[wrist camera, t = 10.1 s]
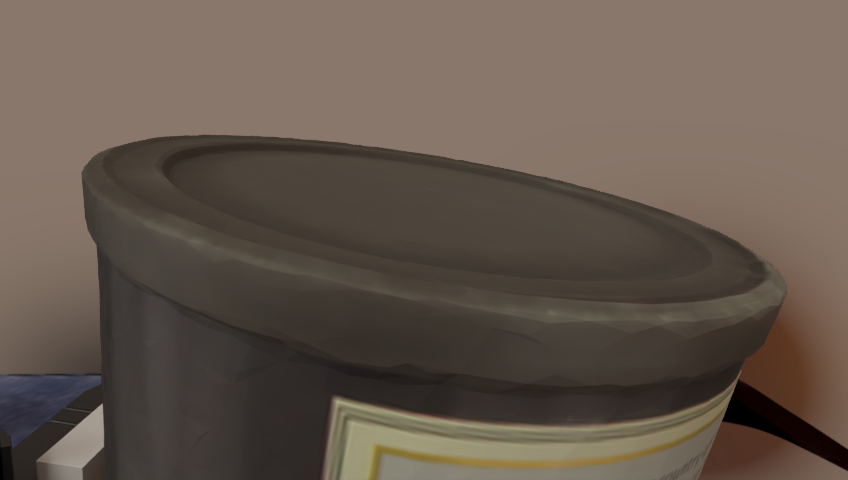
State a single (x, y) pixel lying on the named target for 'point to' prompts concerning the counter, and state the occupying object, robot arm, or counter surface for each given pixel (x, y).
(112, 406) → the coffee can
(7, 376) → the counter surface
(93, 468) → the robot arm
